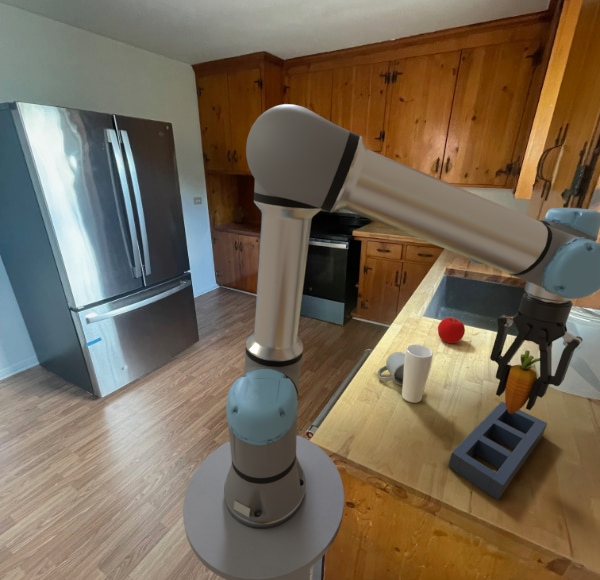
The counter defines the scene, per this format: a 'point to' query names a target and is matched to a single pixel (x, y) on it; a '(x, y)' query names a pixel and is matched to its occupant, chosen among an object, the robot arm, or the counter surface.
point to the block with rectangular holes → (497, 449)
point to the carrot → (520, 383)
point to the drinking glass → (416, 372)
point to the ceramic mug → (393, 368)
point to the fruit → (451, 330)
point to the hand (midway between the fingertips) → (514, 399)
